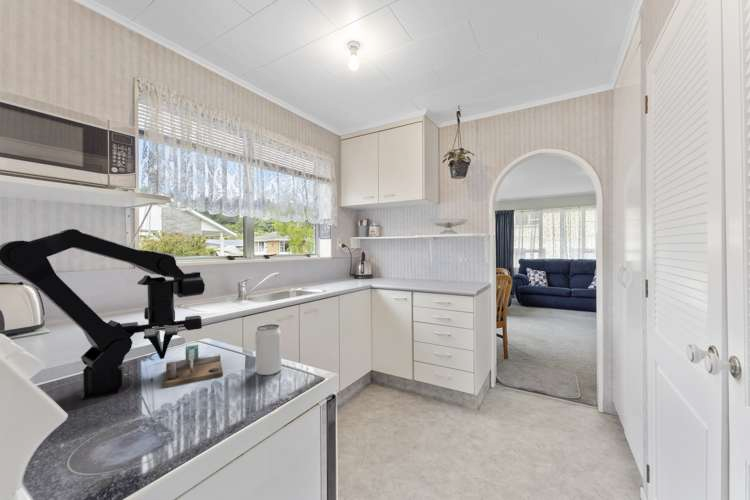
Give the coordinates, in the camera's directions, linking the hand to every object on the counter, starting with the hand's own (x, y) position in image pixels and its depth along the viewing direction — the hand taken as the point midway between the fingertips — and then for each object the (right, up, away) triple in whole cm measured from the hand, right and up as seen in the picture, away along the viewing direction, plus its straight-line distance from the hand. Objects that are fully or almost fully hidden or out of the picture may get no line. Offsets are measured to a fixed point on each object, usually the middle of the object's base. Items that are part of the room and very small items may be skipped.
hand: (162, 358), depth 84 cm
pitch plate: (+9, -4, 0) cm, 10 cm away
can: (+28, -4, +1) cm, 29 cm away
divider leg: (+8, -2, +1) cm, 8 cm away
